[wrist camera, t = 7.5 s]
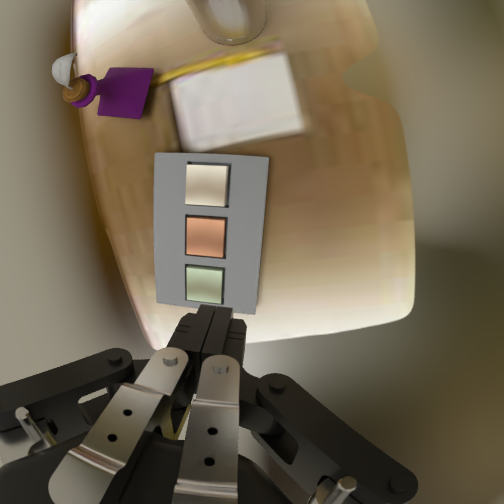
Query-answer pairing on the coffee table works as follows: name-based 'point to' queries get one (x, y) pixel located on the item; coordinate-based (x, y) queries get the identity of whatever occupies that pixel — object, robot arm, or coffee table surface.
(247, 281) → the tile board
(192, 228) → the terracotta tile
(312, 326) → the coffee table surface
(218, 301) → the sage tile
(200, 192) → the cream tile
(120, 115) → the perfume bottle
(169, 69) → the coffee table surface
